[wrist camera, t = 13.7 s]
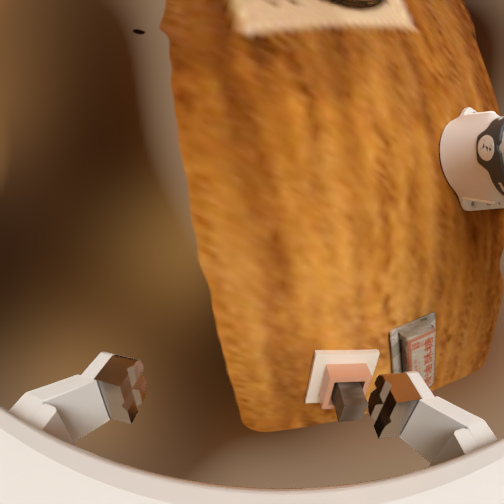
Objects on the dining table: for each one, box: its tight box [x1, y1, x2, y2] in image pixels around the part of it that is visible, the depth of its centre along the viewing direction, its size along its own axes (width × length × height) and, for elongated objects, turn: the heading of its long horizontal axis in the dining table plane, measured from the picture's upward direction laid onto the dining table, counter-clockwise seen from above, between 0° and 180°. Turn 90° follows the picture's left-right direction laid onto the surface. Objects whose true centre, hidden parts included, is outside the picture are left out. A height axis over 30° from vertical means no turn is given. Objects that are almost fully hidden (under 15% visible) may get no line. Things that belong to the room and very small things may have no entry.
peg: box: [332, 382, 368, 422], centre depth 42 cm, size 4×4×9 cm
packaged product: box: [389, 312, 436, 388], centre depth 45 cm, size 18×5×10 cm
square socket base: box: [305, 349, 380, 409], centre depth 45 cm, size 12×12×5 cm
